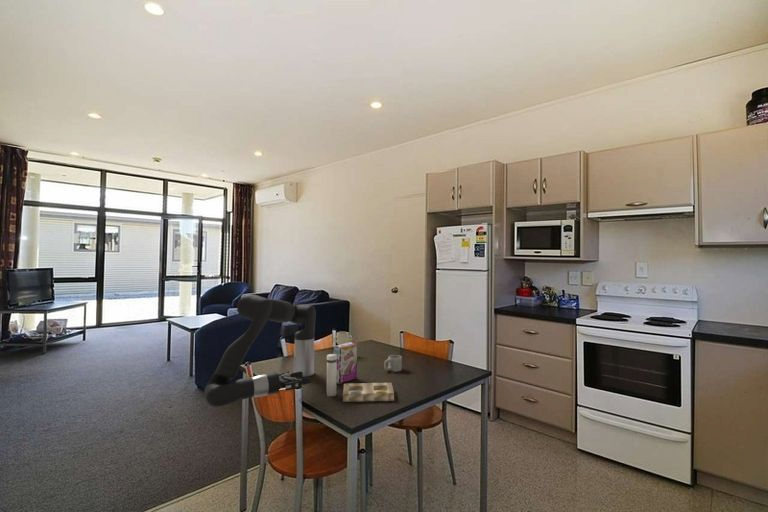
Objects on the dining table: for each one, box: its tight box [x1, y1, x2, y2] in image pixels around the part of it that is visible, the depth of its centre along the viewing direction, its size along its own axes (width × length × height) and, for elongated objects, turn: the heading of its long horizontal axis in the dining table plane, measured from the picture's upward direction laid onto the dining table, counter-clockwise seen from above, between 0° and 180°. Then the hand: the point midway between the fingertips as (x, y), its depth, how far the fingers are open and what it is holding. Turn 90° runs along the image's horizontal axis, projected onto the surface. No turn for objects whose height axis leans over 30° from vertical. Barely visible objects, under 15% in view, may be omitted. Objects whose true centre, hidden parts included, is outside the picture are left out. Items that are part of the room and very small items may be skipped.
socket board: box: [342, 382, 395, 403], centre depth 148 cm, size 20×12×3 cm, turn 94°
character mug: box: [333, 331, 353, 345], centre depth 209 cm, size 11×7×13 cm, turn 110°
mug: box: [383, 354, 403, 373], centre depth 182 cm, size 10×7×7 cm
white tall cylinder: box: [326, 353, 337, 397], centre depth 149 cm, size 4×4×16 cm
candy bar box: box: [332, 341, 358, 385], centre depth 167 cm, size 11×5×16 cm, turn 141°
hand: (306, 377), depth 143 cm, fingers open, 8 cm apart
